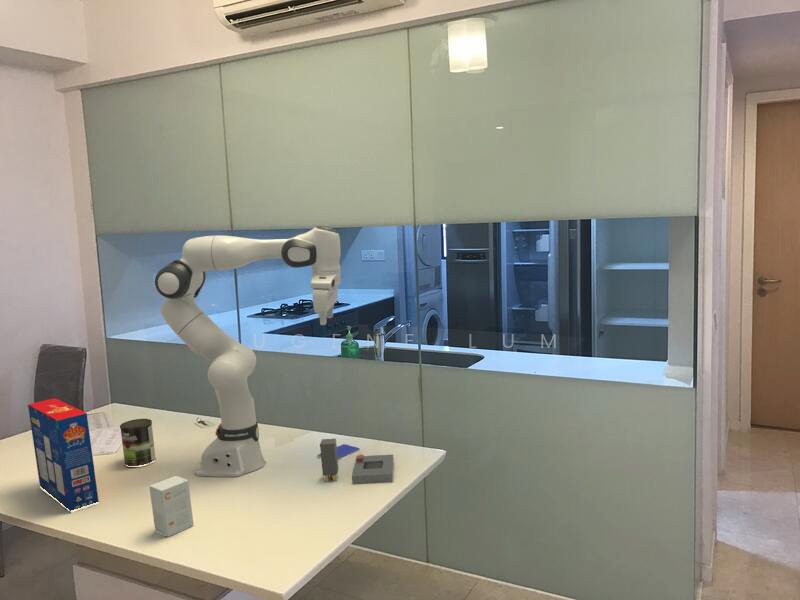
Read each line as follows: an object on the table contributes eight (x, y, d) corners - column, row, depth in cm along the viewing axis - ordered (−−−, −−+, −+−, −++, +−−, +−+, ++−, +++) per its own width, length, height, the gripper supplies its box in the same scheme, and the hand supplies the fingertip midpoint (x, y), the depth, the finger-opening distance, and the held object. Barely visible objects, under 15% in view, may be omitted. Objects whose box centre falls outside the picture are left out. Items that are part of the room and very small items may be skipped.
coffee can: (141, 469, 228) (136, 428, 226) (118, 466, 232) (112, 427, 230) (162, 458, 237) (158, 419, 235) (139, 455, 241) (135, 417, 239)
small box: (181, 519, 187) (175, 474, 186) (194, 525, 183) (188, 479, 181) (154, 531, 181) (148, 485, 179) (167, 538, 177) (161, 490, 175)
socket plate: (352, 484, 204) (351, 473, 203) (356, 463, 220) (356, 454, 219) (392, 481, 203) (391, 471, 203) (393, 461, 219) (393, 452, 219)
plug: (323, 482, 207) (319, 444, 205) (325, 476, 211) (321, 439, 210) (337, 481, 207) (334, 443, 205) (339, 475, 211) (336, 438, 209)
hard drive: (333, 459, 222) (359, 447, 232) (316, 454, 228) (342, 443, 237) (334, 464, 222) (360, 452, 232) (317, 459, 228) (343, 447, 237)
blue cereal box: (98, 503, 202) (86, 413, 198) (70, 513, 197) (57, 420, 193) (66, 480, 222) (55, 398, 218) (40, 489, 217) (27, 404, 213)
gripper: (323, 272, 224) (323, 313, 227) (309, 283, 204) (309, 328, 207) (342, 273, 223) (342, 314, 226) (329, 284, 203) (329, 329, 206)
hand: (326, 321), depth 216 cm, fingers open, 8 cm apart
